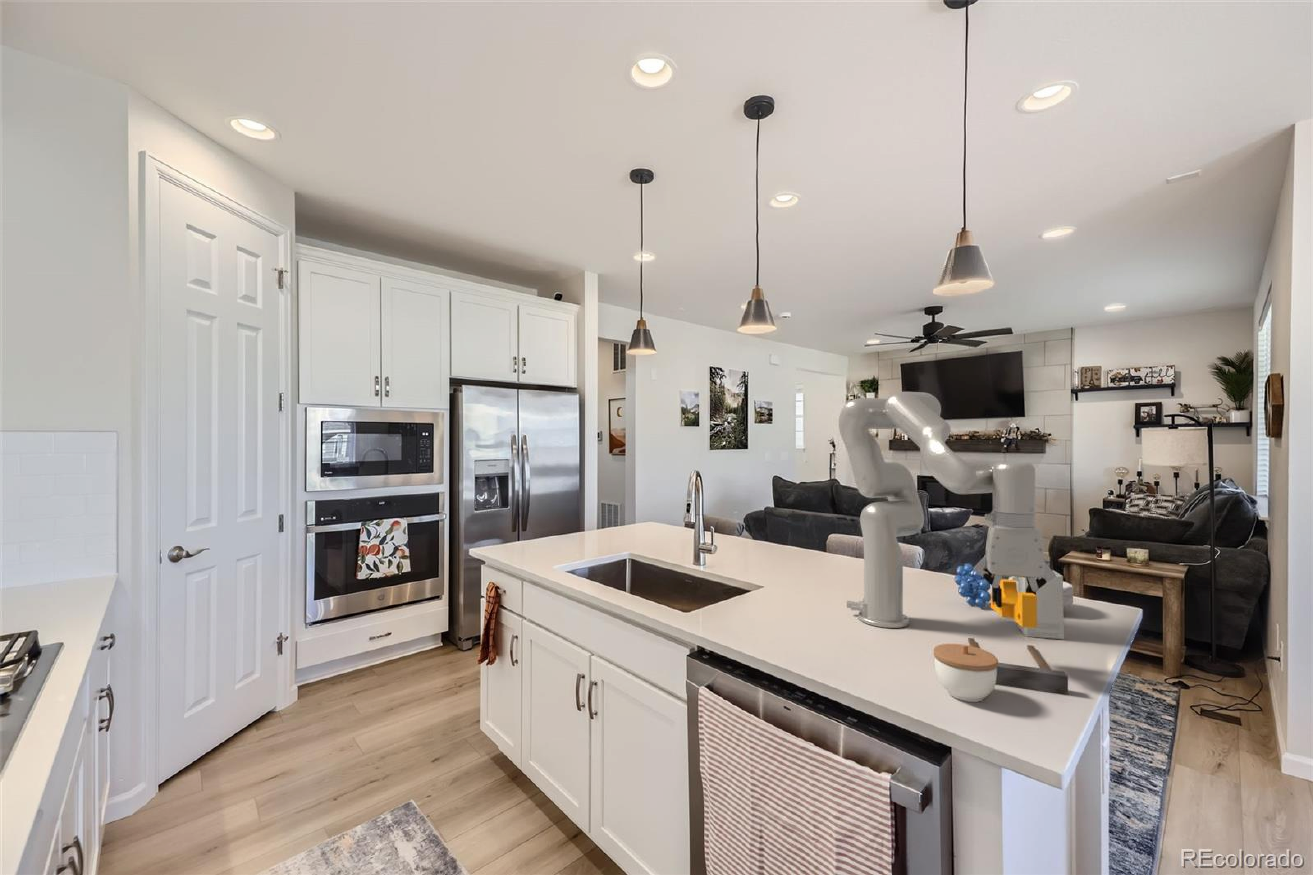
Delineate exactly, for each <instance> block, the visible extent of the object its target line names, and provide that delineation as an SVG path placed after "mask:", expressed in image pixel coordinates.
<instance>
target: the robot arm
mask: <svg viewBox="0 0 1313 875" xmlns="http://www.w3.org/2000/svg"><path fill="white" fill-rule="evenodd" d="M941 413H942V405H941V403H940V401H939V399H937V397H936V396H934V395H933V394H931V393H928V392H922V391H921V392H920V391H919V392H918V391H899V392H896V393H894V394H892V395H891V396H889V397H888V398H878V397H877V398H876V397H859V398H853V399H852V400H849V401H848V402H846V403H845V404H844V406H843V407H842V408H841V411H840V413H839V417H838V429H839V433H840V437H841V439H842V442H843V444H844V445H845V448H846V451H847V453H848V459H849V463H850V467H851V470H852V474H853V478H854V481H855V485H856V488H857V490H858V492H859V493H860V495H862V496H863V497H865V498H873V499H874V498H875V499H876V498H877V499H878V498H879V499H880V498H887V501H886V500H885V501H876V502H872V503H869V504H868V505H866V506H865V507H864V508H863V509H862V510H861V513H860V517H859V518H860V519H859V522H860V523H859V524H860V530H861V534H862V540H863V563H864V564H863V566H864V567H863V568H864V569H863V572H864V573H863V577H864V579H863V580H864V581H863V582H864V583H863V584H864V585H863V589H864V590H863V592H864V593H863V594H864V595H863V596H864V598H863V599H862V600H859V601H854V600H853V601H852V600H846V608H847V609H850V610H851V611H858V613H857V616H858V617H857V618H858V619H859V620H860V621H861V622H862V623H865V624H868V625H870V626H874V627H878V628H888V629H892V628H893V629H897V628H898V629H900V628H904V627H907V626H908V625H909V624H910V618H909V617H908V616H907V615H906V614H904V609H903V607H904V606H903V603H904V599H903V598H904V592H903V590H904V586H903V585H904V584H903V583H904V580H903V579H904V573H903V572H904V564H903V562H904V561H903V560H904V558H903V556H904V555H903V552H902V548H901V546H900V543H899V541H898V539H897V537H905V536H906V537H907V536H912V535H916V534H918V533H919V532H920V531H921V530H922V528H923V527H924V524H925V514H924V510H923V506H922V502H921V500H920V496H919V493H918V490H917V486H916V483H915V480H914V477H913V475H912V473H911V471H910V469H908V468H907V467H906V466H905V465H903V464H901V463H898V462H886V461H885V459H884V457H883V454H882V450H881V447H880V444H879V442H878V441H877V440H876V438H875V437H874V435H872V434H871V433H870V429H871V430H894V429H899V430H900V431H902V433H904V435H906V436H907V437H908V438H909V439H910V440H911V441H912V442H913V443H914V444H916V445H917V446H918V448H919V449H920V450H919V451H920V456H921V457H920V458H921V461H922V463H923V466H924V467H925V469H926V470H927V471H928V472H929V474H930V475H931V476H932V477H933V478H934V479H935V480H936V481H938V482H939V483H940V485H941V486H942V487H944V488H946V490H948V491H950V492H952V493H954V494H956V495H957V494H958V495H971V494H972V495H973V494H974V495H975V494H991V493H992V510H991V512H990V513H985V514H984V520H985V521H989V522H991V523H992V524H990V525H988V530H987V535H986V541H985V542H986V544H985V554H984V556H983V557H982V558H981V559H980V560H978V562H977V563H976V565H974V566H973V567H974V570H975V572H977V573H978V574H979V575H981V576H982V577H983V579H985V580H986V581H988V582H989V583H990V586H991V593H992V601H993V602H995V604H996V606H997V607H1000V608H1001V607H1002V589H1001V588H1000V581H1001V579H1003V576H1004V577H1012V576H1013V577H1025V578H1026V580H1027V583H1028V586H1027V589H1026V593H1033V594H1035V595H1036V592H1037V591H1038V590H1039V588H1041V587H1042V586H1043V585H1045V584H1046V583H1047V582H1049V581H1051V580H1052V579H1054V578H1056V574H1055V573H1054V572H1053V571H1052V570H1053V569H1051V568H1050V566H1049V565H1048V564H1047V563H1046V562H1045V561H1046V560H1045V552H1044V550H1045V549H1044V542H1043V536H1042V532H1041V529H1040V528H1037V527H1036V468H1035V467H1034V465H1033V464H1032V463H1030V462H1024V461H999V460H994V459H962V458H961V457H960V456H959V455H957V454H956V452H954V451H953V450H952V449H950V447H949V446H948V445H947V444H946V443H945V442H946V441H947V440H948V438H949V436H950V435H951V432H952V431H951V428H952V427H951V426H950V424H949V423H948V422H947V421H946V420H944V418H943V417H941ZM985 568H986V569H987V571H985V570H984V569H985ZM988 572H989V573H990V574H989V573H988ZM991 574H992V575H991ZM1035 578H1037V579H1035Z"/></svg>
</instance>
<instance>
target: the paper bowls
mask: <svg viewBox="0 0 1313 875" xmlns="http://www.w3.org/2000/svg"><path fill="white" fill-rule="evenodd" d="M1008 579H1009V580H1014V581H1016V585H1017V592H1018V577H1013V576H1008ZM1073 604H1074V586H1073V585H1072V584H1071V583H1069V582H1067V581H1064V580H1063V610H1064V609H1065V607H1066V606H1071V605H1073Z"/></svg>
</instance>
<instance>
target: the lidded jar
mask: <svg viewBox="0 0 1313 875" xmlns="http://www.w3.org/2000/svg"><path fill="white" fill-rule="evenodd" d="M933 659H934V660H933V661H934V670H935V675H936V677H937V679H938V681H939V684H941V687H943V688H944V689H945V690H946V693H947V692H948V693H949V694H948V693H947V694H948V695H949V696H950V697H952V696H953V698H954V699H957V700H960V701H963V702H969V703H978V702H979V701H980V702H982V701H983V700H984V699H985V698H986V697H987V696H989V695H990V694H991V693H992V692H993V690H994V689H995V688H996V687H995V686H996V684H995V683H996V679H997V667H998V663H999V660H998V658H997V657H996V656H995V654H993V653H991V652H990V651H987V650H985V649H982V648H980V647H978V648H976V647H973V646H970V645H967V644H965V643H963V644H960V643H959V644H958V643H942V644H938V645H936V646H935V647H934V648H933Z"/></svg>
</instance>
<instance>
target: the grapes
mask: <svg viewBox="0 0 1313 875" xmlns="http://www.w3.org/2000/svg"><path fill="white" fill-rule="evenodd" d="M974 567H975V566H973V565H972V564H971V563H965V564H963V565H959V566H958V567H957V568H956V573H957V574H956V575H955V576H954V582H955V584H956V585H958V586H959V587H958V589H957V591H958V592H957V593H958V594H959V595H960V596H961V597H962V598H965V601H966V603H967V604H968V605H969V606H971V607H975V606H977V607H978V608H981V609H984V608H985V607H986V604H987V603H989V602H991V593H990V592H989V590H991V584H990V583H989V582H988V581H986V580H985V579H984V578H983V577H982V576H981V575H979V574H978V573H977V572H975V570H974Z"/></svg>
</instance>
